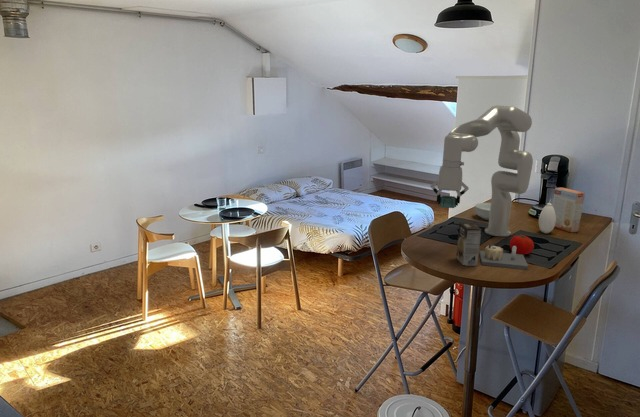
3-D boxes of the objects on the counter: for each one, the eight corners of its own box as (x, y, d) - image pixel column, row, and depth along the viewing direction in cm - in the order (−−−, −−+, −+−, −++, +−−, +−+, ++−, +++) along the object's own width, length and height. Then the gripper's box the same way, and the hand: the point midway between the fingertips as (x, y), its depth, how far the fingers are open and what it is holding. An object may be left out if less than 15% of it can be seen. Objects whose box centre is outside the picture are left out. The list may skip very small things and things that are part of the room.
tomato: (512, 248, 229) (514, 230, 227) (535, 253, 223) (538, 235, 221) (505, 253, 222) (507, 235, 220) (529, 259, 216) (531, 240, 214)
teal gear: (439, 203, 223) (440, 194, 222) (456, 204, 222) (456, 196, 221) (439, 207, 217) (439, 198, 216) (455, 208, 215) (456, 199, 214)
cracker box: (579, 232, 257) (585, 192, 251) (570, 233, 254) (576, 193, 249) (557, 224, 269) (563, 186, 264) (549, 225, 267) (554, 187, 262)
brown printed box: (455, 258, 215) (458, 222, 211) (470, 258, 216) (473, 222, 212) (462, 265, 207) (466, 228, 202) (477, 265, 207) (481, 228, 203)
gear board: (479, 253, 221) (481, 238, 219) (522, 257, 217) (524, 242, 215) (481, 264, 208) (483, 248, 206) (527, 269, 204) (529, 252, 202)
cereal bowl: (473, 221, 273) (474, 208, 271) (473, 213, 288) (474, 201, 286) (506, 224, 268) (507, 211, 266) (504, 216, 283) (506, 204, 281)
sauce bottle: (537, 234, 251) (542, 199, 247) (536, 229, 259) (541, 196, 254) (554, 235, 249) (560, 201, 245) (552, 231, 256) (557, 197, 252)
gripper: (472, 164, 216) (468, 203, 220) (431, 161, 220) (428, 200, 225) (472, 166, 209) (468, 208, 213) (430, 164, 213) (427, 204, 218)
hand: (447, 203), depth 219 cm, fingers closed on teal gear, 7 cm apart
